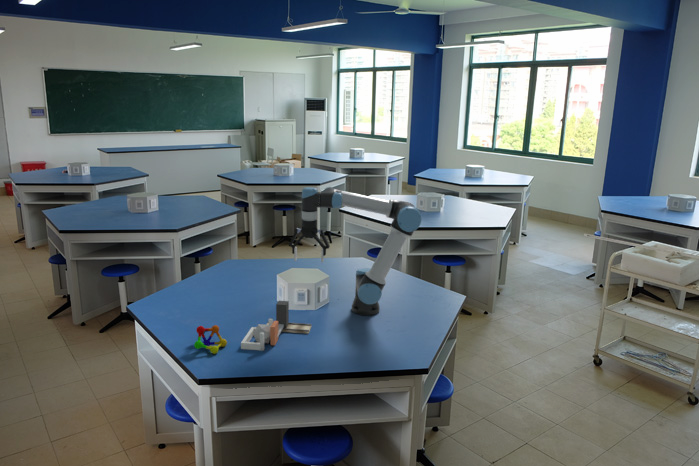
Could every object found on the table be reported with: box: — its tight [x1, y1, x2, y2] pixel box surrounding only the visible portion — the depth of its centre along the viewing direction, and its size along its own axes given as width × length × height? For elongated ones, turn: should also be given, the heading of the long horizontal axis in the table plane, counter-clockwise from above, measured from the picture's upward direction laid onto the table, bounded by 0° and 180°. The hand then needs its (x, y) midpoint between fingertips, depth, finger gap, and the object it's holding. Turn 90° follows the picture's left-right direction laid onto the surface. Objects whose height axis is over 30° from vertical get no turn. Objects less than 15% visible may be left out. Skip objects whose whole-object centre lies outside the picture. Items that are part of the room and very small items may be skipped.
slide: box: [266, 320, 312, 335], centre depth 254 cm, size 22×8×2 cm, turn 84°
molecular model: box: [193, 324, 228, 355], centre depth 231 cm, size 15×10×15 cm
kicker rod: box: [269, 300, 290, 346], centre depth 244 cm, size 5×22×13 cm, turn 174°
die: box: [253, 323, 271, 344], centre depth 239 cm, size 8×9×10 cm
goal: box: [240, 318, 274, 352], centre depth 239 cm, size 10×18×8 cm, turn 174°
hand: (309, 260), depth 257 cm, fingers open, 13 cm apart
